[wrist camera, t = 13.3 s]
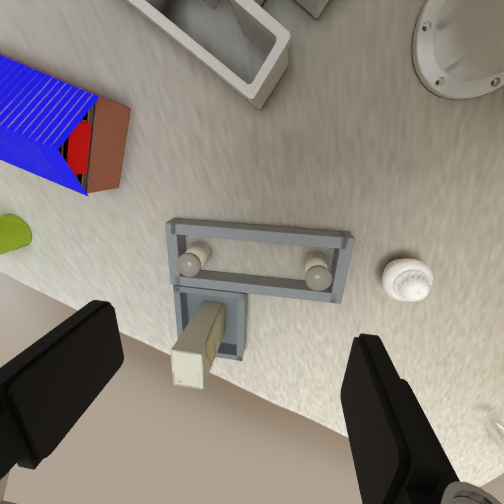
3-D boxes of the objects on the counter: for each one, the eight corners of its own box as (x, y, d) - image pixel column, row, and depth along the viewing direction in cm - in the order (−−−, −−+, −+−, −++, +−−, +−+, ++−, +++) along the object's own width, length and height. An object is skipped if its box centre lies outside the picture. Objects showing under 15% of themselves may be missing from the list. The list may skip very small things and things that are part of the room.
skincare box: (225, 331, 44) (204, 391, 33) (202, 328, 45) (173, 386, 34) (225, 302, 42) (202, 355, 31) (201, 299, 43) (169, 350, 31)
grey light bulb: (211, 241, 39) (198, 256, 33) (212, 261, 40) (199, 278, 35) (191, 239, 39) (175, 253, 34) (192, 259, 41) (176, 275, 35)
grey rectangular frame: (349, 232, 35) (354, 238, 33) (337, 293, 39) (341, 303, 36) (174, 218, 38) (165, 222, 36) (178, 276, 42) (170, 284, 39)
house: (-2, 49, 33) (-141, -1, 23) (134, 107, 34) (61, 84, 23) (1, 140, 38) (-112, 133, 27) (121, 190, 38) (55, 203, 27)
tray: (247, 284, 41) (244, 294, 38) (245, 347, 46) (242, 360, 43) (181, 276, 42) (173, 285, 39) (185, 339, 47) (178, 351, 44)
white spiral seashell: (407, 291, 37) (432, 320, 31) (368, 282, 38) (384, 308, 31) (427, 255, 35) (458, 277, 29) (384, 245, 35) (405, 265, 29)
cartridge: (327, 252, 37) (334, 269, 31) (323, 272, 38) (329, 292, 33) (304, 250, 37) (307, 266, 32) (301, 270, 39) (303, 289, 33)
